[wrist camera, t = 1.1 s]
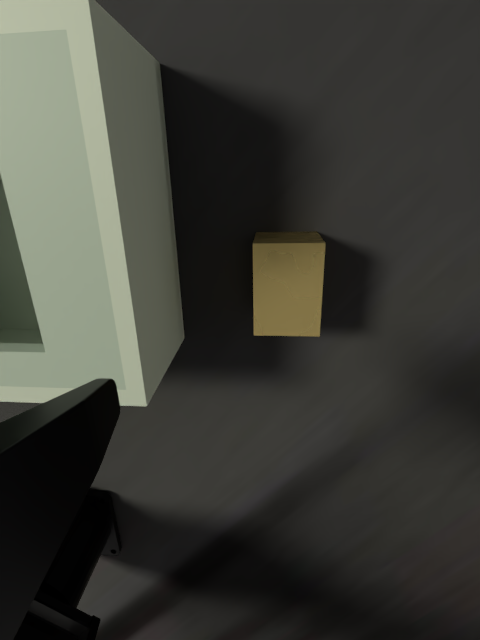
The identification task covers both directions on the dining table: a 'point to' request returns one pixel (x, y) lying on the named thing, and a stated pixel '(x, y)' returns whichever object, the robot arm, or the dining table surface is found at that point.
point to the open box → (83, 207)
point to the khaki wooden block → (287, 283)
